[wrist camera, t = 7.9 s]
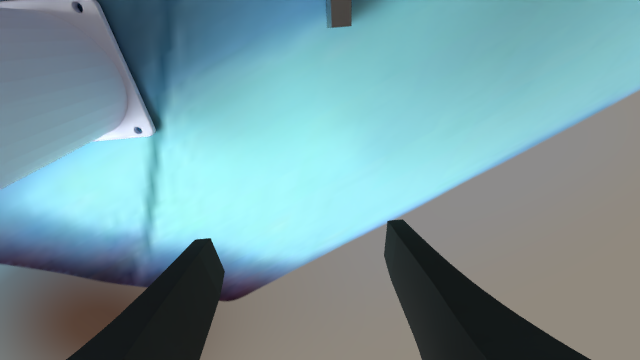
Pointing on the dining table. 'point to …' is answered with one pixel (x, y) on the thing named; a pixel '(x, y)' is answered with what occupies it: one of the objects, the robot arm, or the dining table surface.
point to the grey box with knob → (338, 13)
